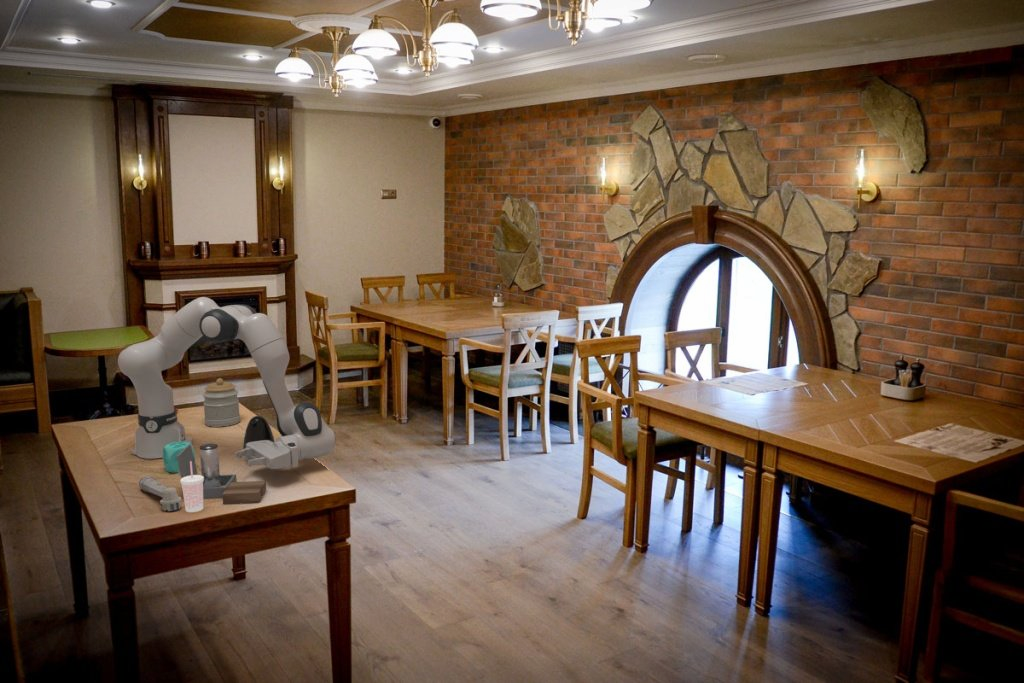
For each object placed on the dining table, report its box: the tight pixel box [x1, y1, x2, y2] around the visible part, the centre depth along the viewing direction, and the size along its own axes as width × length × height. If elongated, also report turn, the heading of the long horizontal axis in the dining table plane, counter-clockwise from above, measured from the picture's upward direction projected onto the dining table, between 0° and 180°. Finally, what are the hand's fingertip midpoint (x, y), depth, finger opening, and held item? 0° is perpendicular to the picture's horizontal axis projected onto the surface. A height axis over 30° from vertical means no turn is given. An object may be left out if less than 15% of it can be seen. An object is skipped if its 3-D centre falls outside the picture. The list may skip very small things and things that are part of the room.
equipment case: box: [176, 444, 238, 499], centre depth 243 cm, size 12×14×13 cm
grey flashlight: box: [138, 476, 182, 512], centre depth 237 cm, size 5×7×25 cm
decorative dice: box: [162, 442, 196, 474], centre depth 264 cm, size 8×8×8 cm
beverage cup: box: [180, 461, 204, 513], centre depth 229 cm, size 6×6×14 cm
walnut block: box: [222, 480, 267, 505], centre depth 239 cm, size 10×10×3 cm
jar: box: [202, 377, 241, 428], centre depth 316 cm, size 13×13×18 cm
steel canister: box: [199, 443, 222, 488], centre depth 243 cm, size 5×5×14 cm
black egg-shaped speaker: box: [242, 415, 276, 460], centre depth 271 cm, size 10×10×15 cm
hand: (242, 459), depth 249 cm, fingers open, 8 cm apart
